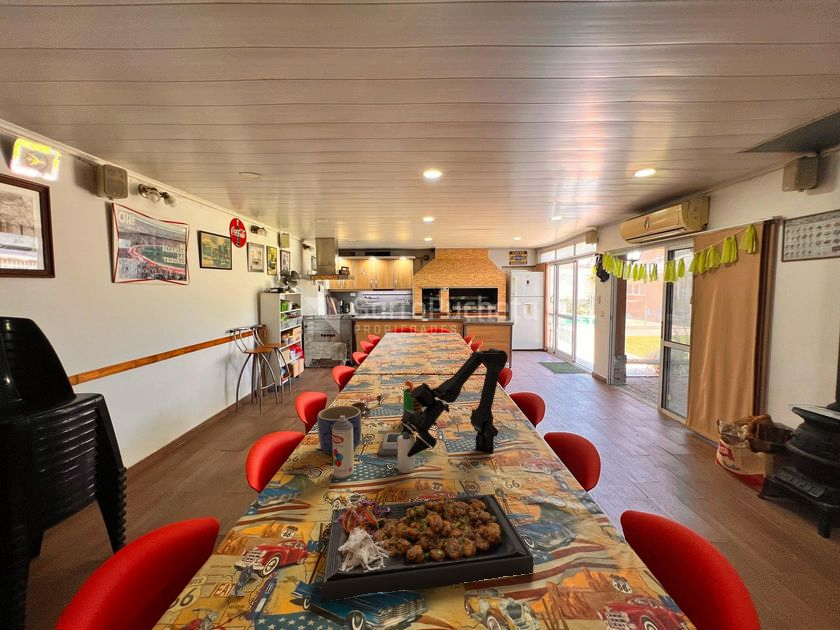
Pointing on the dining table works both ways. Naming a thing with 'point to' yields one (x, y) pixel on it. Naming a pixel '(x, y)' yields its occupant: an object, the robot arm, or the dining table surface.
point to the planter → (331, 417)
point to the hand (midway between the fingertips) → (402, 450)
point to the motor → (410, 399)
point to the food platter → (420, 546)
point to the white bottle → (405, 453)
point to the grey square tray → (389, 445)
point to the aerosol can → (343, 449)
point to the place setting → (363, 408)
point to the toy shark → (243, 580)
